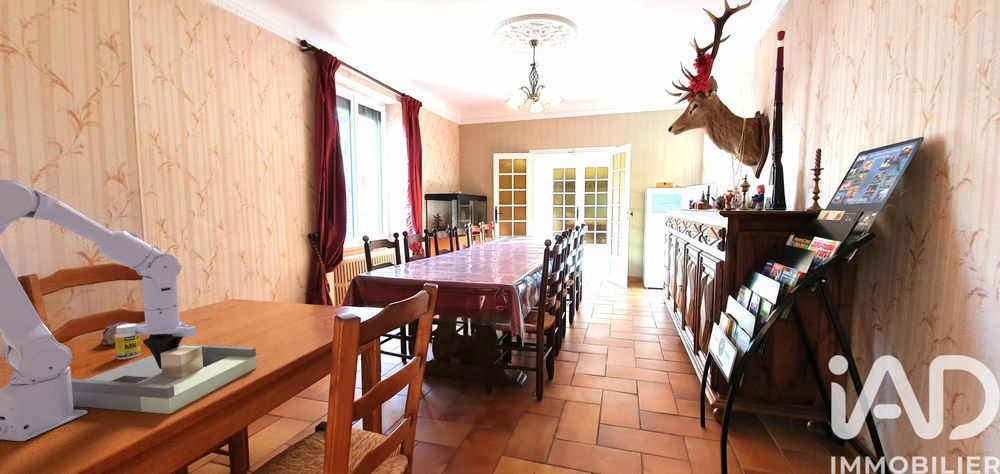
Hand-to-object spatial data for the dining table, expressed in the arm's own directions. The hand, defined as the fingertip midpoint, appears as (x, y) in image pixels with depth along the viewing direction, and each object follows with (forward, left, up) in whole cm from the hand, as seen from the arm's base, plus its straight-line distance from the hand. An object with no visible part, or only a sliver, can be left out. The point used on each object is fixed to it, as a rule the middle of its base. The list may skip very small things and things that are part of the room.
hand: (166, 367), depth 88 cm
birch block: (0, -4, -1) cm, 4 cm away
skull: (+23, +43, -4) cm, 49 cm away
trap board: (0, 0, -4) cm, 4 cm away
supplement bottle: (+13, +27, -4) cm, 30 cm away
